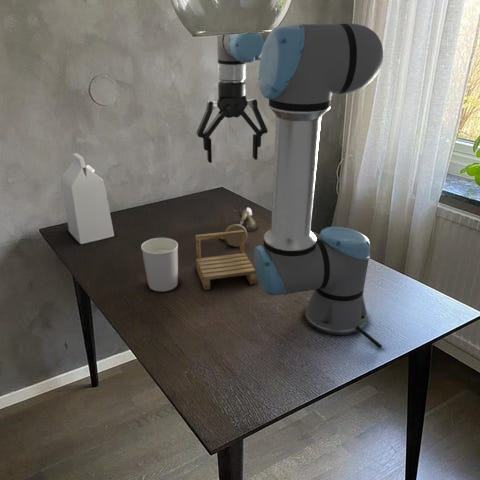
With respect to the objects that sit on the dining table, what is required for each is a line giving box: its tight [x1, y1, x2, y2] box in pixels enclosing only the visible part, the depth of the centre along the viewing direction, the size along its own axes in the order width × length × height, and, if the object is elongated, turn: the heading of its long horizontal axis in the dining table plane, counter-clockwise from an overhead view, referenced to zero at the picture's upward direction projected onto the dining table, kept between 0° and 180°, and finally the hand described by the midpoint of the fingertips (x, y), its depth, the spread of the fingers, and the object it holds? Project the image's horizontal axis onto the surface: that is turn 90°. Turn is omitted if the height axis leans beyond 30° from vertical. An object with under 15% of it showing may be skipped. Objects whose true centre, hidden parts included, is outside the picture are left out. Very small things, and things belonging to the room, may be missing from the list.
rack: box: [195, 230, 257, 291], centre depth 144 cm, size 13×15×11 cm
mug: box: [220, 223, 248, 248], centre depth 164 cm, size 8×10×10 cm
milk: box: [61, 152, 115, 245], centre depth 164 cm, size 12×12×26 cm
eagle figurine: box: [232, 207, 257, 232], centre depth 175 cm, size 8×7×9 cm
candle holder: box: [140, 237, 179, 292], centre depth 139 cm, size 10×10×12 cm
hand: (232, 160), depth 149 cm, fingers open, 13 cm apart
